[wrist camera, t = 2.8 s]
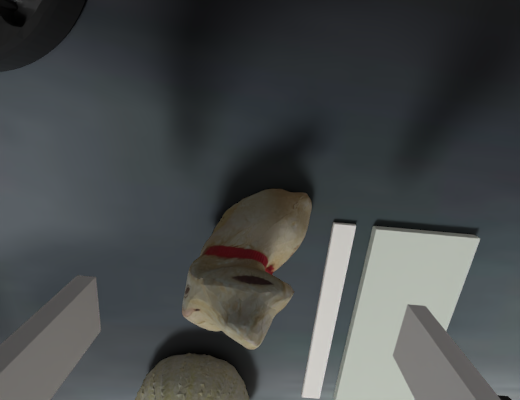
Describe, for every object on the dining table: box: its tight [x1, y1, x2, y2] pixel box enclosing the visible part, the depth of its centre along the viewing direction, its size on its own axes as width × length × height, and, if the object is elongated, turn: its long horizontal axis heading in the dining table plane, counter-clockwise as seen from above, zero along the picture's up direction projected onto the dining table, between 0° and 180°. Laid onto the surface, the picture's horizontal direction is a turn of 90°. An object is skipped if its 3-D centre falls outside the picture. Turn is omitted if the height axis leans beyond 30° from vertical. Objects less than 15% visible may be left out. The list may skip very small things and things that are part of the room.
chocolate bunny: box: [182, 189, 312, 349], centre depth 15 cm, size 6×8×10 cm
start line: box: [301, 222, 356, 399], centre depth 22 cm, size 16×2×1 cm, turn 175°
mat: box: [333, 226, 480, 400], centre depth 22 cm, size 16×7×1 cm, turn 175°
